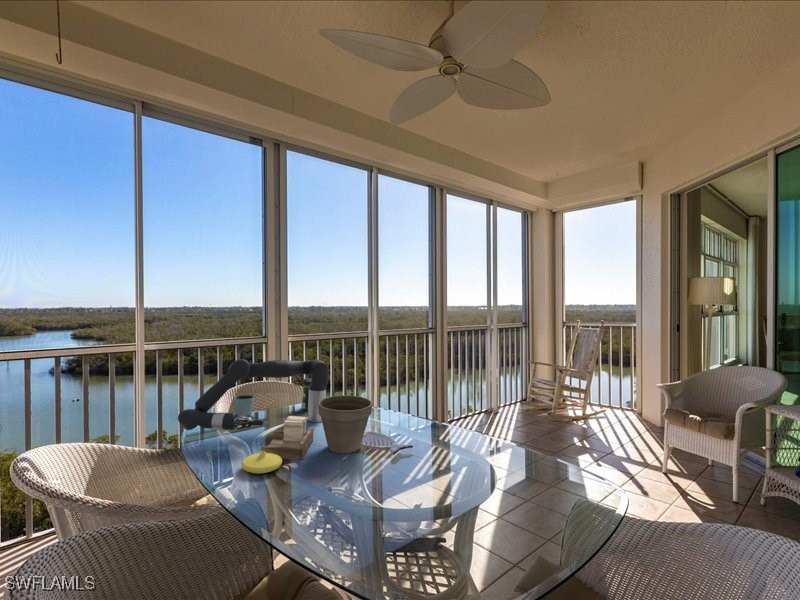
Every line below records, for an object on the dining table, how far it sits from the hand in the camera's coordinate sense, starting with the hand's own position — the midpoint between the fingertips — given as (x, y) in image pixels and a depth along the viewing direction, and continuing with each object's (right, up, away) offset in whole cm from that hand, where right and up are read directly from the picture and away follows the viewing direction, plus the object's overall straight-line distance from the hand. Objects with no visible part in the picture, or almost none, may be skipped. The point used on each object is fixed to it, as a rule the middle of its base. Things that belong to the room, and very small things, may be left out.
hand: (262, 422), depth 188 cm
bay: (+12, -12, 0) cm, 17 cm away
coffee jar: (+8, -10, +62) cm, 64 cm away
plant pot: (+36, -13, +5) cm, 39 cm away
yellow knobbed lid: (+7, -13, -21) cm, 25 cm away
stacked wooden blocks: (+14, -11, 0) cm, 18 cm away
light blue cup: (-23, -9, +38) cm, 46 cm away
